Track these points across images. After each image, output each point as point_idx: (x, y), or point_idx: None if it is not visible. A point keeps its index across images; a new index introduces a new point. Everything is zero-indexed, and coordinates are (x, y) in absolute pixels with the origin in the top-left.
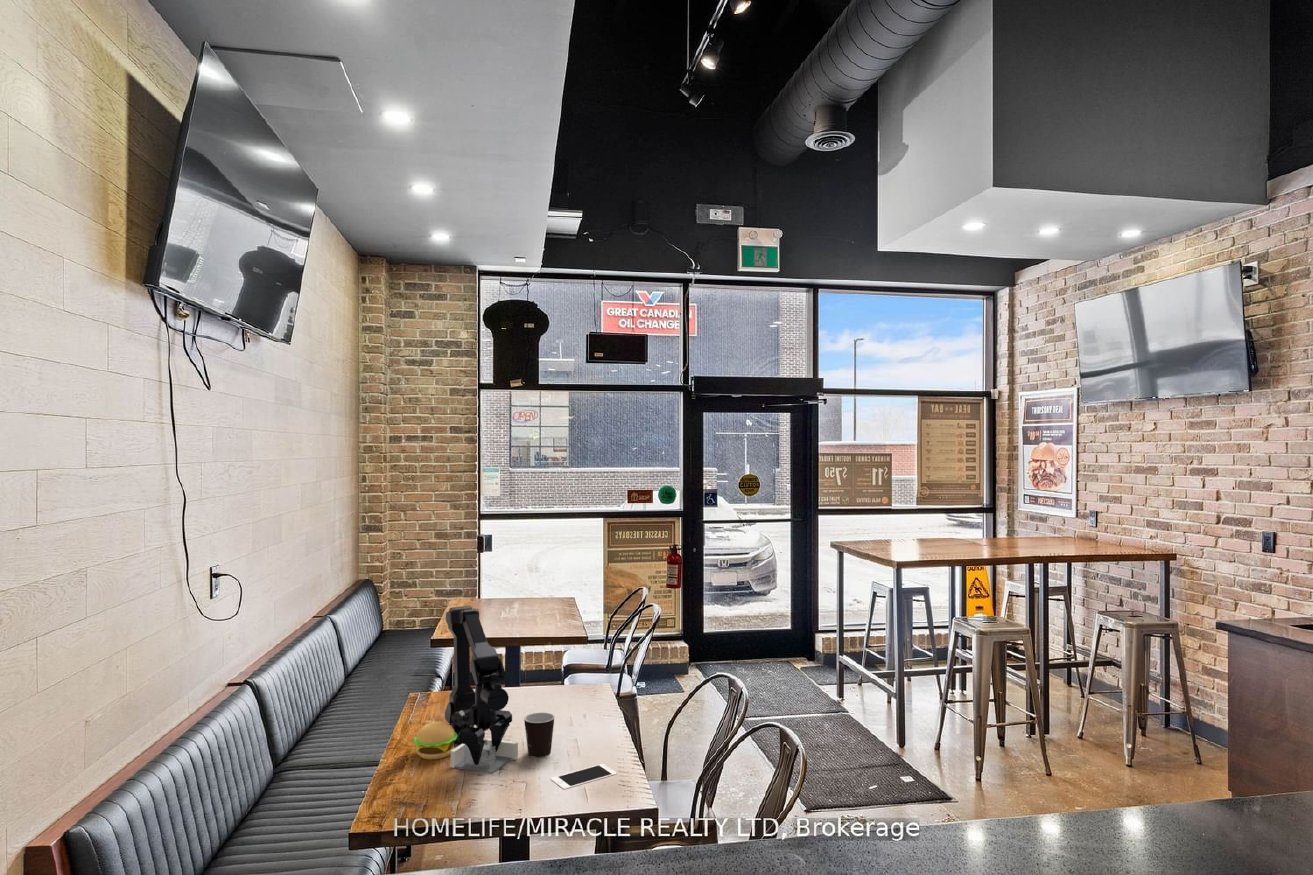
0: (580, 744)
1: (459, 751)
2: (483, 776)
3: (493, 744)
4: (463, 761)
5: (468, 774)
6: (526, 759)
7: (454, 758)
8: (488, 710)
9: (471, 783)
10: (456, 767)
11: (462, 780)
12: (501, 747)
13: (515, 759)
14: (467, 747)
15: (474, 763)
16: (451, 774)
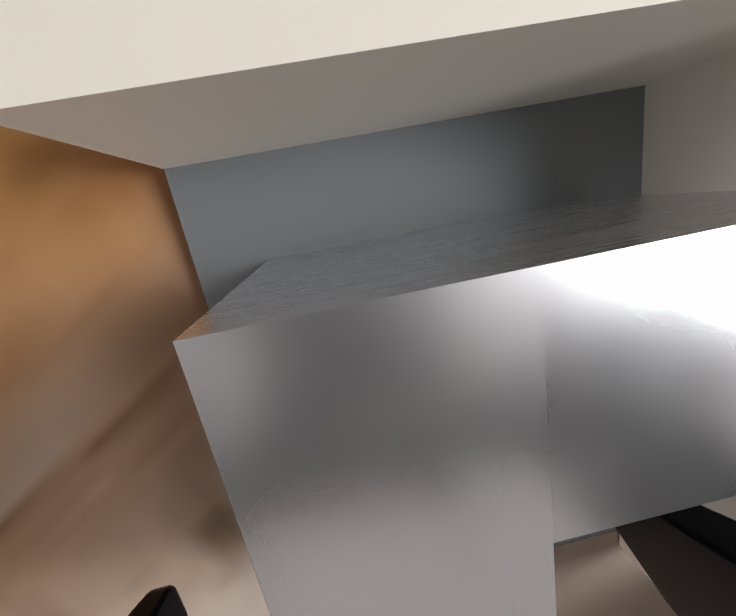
0: None
1: (258, 102)
2: (212, 581)
3: (702, 565)
4: (351, 162)
5: (151, 448)
6: (648, 596)
7: (104, 149)
8: None
9: (30, 607)
10: (179, 205)
11: (7, 504)
12: (727, 504)
13: (620, 544)
14: (217, 448)
15: (142, 604)
16: (13, 292)
